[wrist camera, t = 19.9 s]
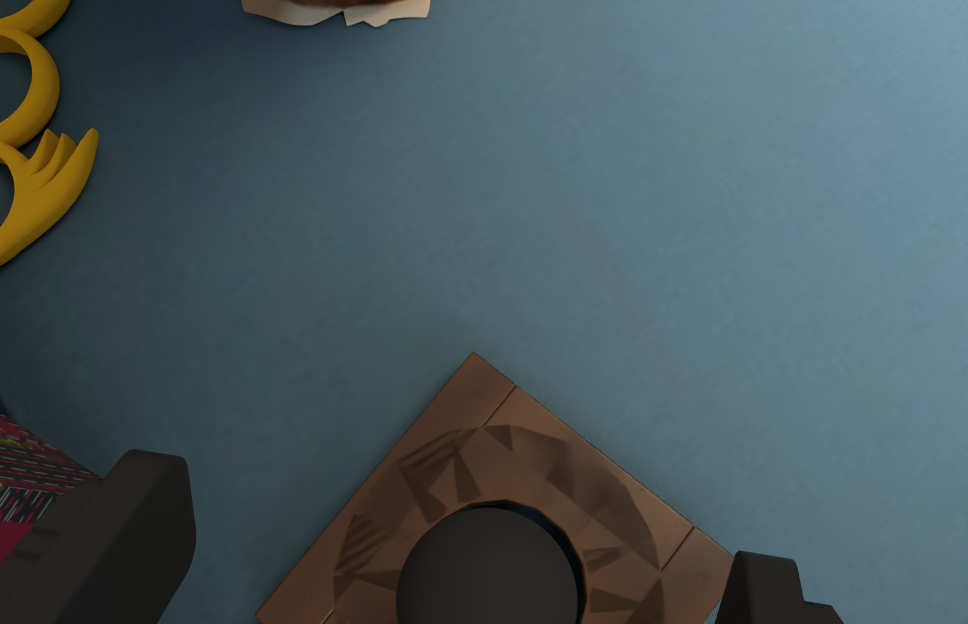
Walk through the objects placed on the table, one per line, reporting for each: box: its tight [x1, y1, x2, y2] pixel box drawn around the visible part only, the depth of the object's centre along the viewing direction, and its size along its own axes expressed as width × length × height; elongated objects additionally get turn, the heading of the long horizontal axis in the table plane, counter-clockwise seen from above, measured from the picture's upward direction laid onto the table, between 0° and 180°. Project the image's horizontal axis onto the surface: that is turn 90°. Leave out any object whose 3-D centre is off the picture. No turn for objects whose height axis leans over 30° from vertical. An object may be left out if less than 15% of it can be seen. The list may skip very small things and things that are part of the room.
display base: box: [254, 352, 734, 624], centre depth 31 cm, size 12×12×2 cm
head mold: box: [396, 508, 578, 624], centre depth 28 cm, size 5×5×10 cm
